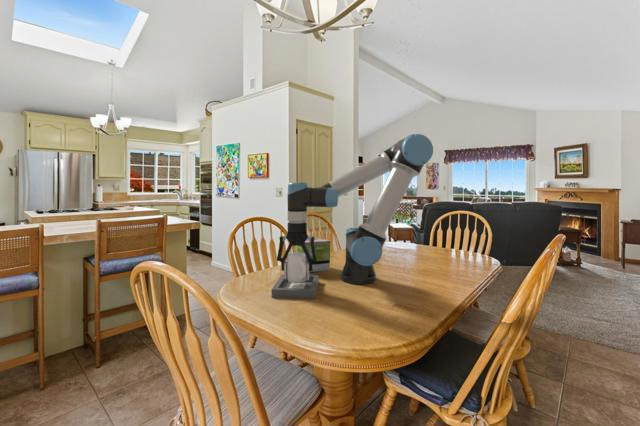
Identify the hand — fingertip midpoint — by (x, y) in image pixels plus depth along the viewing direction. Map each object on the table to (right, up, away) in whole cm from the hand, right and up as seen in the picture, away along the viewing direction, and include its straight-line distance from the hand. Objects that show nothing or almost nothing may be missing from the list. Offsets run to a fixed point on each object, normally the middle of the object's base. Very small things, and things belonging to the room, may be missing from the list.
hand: (296, 278), depth 129 cm
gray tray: (0, -4, 0) cm, 4 cm away
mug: (+1, -1, 0) cm, 1 cm away
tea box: (+5, -2, +30) cm, 30 cm away
